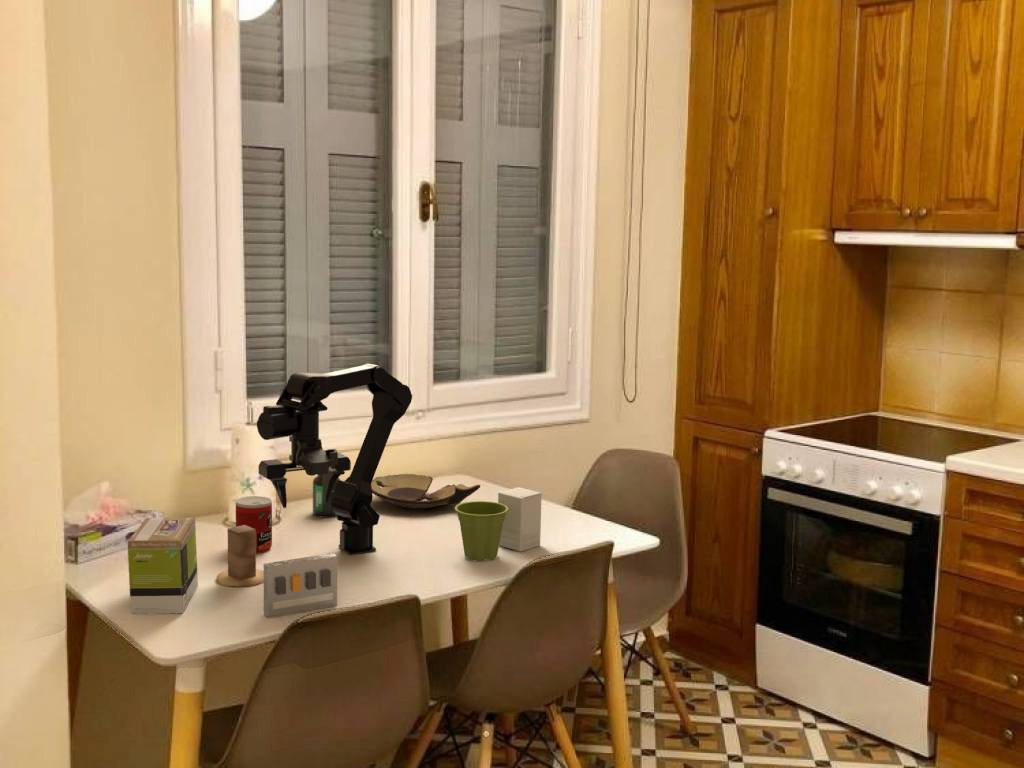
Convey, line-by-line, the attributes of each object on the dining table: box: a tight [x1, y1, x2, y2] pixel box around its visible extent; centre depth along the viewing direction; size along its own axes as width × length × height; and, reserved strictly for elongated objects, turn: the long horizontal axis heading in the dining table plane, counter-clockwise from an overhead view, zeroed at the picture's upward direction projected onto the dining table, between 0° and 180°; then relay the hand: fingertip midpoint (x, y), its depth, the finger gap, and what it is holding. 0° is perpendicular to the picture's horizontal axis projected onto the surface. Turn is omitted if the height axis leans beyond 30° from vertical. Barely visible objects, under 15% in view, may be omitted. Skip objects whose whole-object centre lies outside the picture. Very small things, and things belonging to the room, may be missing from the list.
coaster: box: [216, 568, 264, 588], centre depth 231 cm, size 10×10×1 cm
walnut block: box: [227, 525, 257, 581], centre depth 230 cm, size 4×4×10 cm
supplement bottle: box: [312, 474, 341, 518], centre depth 278 cm, size 7×7×12 cm
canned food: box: [235, 495, 273, 554], centre depth 250 cm, size 8×8×11 cm
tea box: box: [127, 516, 199, 615], centre depth 216 cm, size 15×10×15 cm, turn 5°
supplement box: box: [497, 486, 543, 552], centre depth 257 cm, size 7×7×13 cm
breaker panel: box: [263, 552, 338, 619], centre depth 213 cm, size 14×3×10 cm, turn 122°
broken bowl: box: [371, 473, 481, 509], centre depth 287 cm, size 22×30×8 cm
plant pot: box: [454, 500, 509, 562], centre depth 249 cm, size 12×12×11 cm
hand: (305, 505), depth 239 cm, fingers open, 9 cm apart
